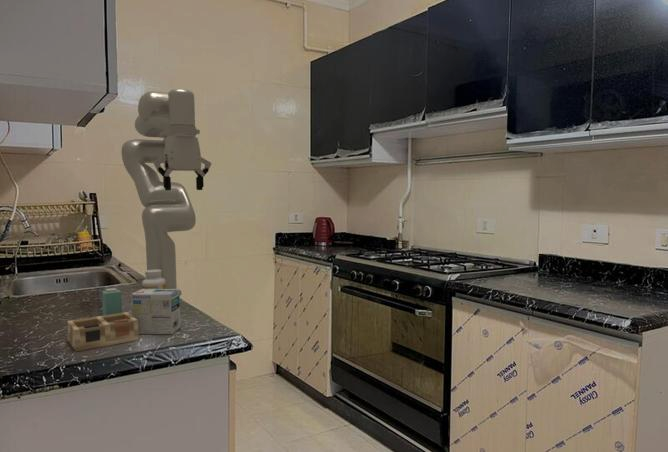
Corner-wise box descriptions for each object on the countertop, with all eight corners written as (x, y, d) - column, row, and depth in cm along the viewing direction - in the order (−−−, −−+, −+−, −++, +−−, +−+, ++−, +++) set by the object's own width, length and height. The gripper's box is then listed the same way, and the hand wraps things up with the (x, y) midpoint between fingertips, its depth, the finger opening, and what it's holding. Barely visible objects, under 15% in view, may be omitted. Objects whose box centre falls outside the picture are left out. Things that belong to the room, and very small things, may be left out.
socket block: (68, 340, 122) (67, 319, 122) (127, 330, 130) (126, 310, 130) (76, 351, 114) (75, 329, 113) (138, 340, 122) (138, 319, 122)
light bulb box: (181, 327, 133) (180, 288, 132) (173, 335, 127) (171, 293, 126) (142, 327, 134) (141, 288, 133) (131, 334, 127) (130, 293, 126)
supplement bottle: (160, 308, 153) (158, 267, 152) (170, 312, 149) (169, 270, 148) (139, 312, 148) (137, 270, 147) (149, 316, 144) (148, 273, 143)
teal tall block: (103, 327, 133) (101, 288, 132) (118, 325, 136) (117, 287, 135) (106, 331, 130) (104, 291, 129) (122, 328, 133) (121, 289, 132)
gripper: (205, 135, 155) (206, 189, 157) (148, 131, 145) (150, 190, 146) (214, 133, 149) (216, 189, 151) (156, 129, 139) (159, 190, 140)
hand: (184, 190), depth 148 cm, fingers open, 9 cm apart
